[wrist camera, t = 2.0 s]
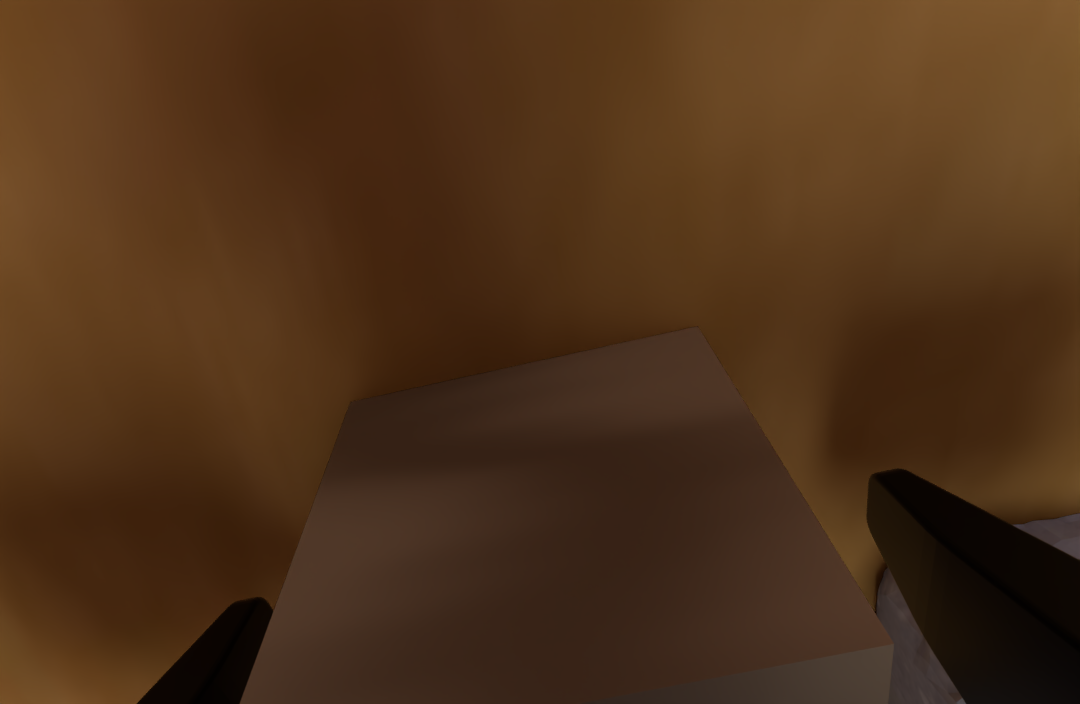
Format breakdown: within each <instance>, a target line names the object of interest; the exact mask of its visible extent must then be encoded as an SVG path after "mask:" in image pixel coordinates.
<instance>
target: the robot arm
mask: <svg viewBox="0 0 1080 704" xmlns="http://www.w3.org/2000/svg"><path fill="white" fill-rule="evenodd" d="M867 523H868V527H869V529H870V532H871V534H872V536H873V538H874V540H875V542H876V544H877V546H878V548H879V550H880V552H881V554H882V556H883V558H884V560H885V562H886V564H887V566H888V568H889V570H890V572H891V574H892V576H893V578H894V580H895V582H896V584H897V586H898V588H899V590H900V592H901V594H902V596H903V598H904V600H905V602H906V604H907V606H908V608H909V610H910V612H911V614H912V616H913V618H914V620H915V622H916V624H917V625H918V627H919V629H920V631H921V633H922V635H923V637H924V638H925V640H926V642H927V643H928V645H929V647H930V648H931V650H932V651H933V653H934V655H935V656H936V658H937V659H938V661H939V663H940V664H941V666H942V667H943V669H944V670H945V672H946V673H947V675H948V677H949V678H950V680H951V681H952V683H953V684H954V686H955V687H956V689H957V691H958V692H959V694H960V695H961V697H962V698H963V700H964V702H965V703H966V704H1080V560H1079V559H1077V558H1075V557H1073V556H1072V555H1070V554H1068V553H1066V552H1064V551H1062V550H1060V549H1058V548H1056V547H1054V546H1052V545H1050V544H1048V543H1046V542H1044V541H1043V540H1041V539H1039V538H1037V537H1035V536H1033V535H1031V534H1029V533H1027V532H1025V531H1023V530H1021V529H1019V528H1017V527H1015V526H1014V525H1012V524H1010V523H1008V522H1006V521H1004V520H1002V519H1000V518H998V517H996V516H994V515H992V514H990V513H988V512H987V511H985V510H983V509H981V508H979V507H977V506H975V505H973V504H971V503H969V502H967V501H965V500H963V499H961V498H959V497H958V496H956V495H954V494H952V493H950V492H948V491H946V490H944V489H942V488H940V487H938V486H936V485H934V484H932V483H930V482H929V481H927V480H925V479H923V478H921V477H919V476H917V475H915V474H913V473H911V472H909V471H907V470H904V469H892V470H887V471H882V472H877V473H874V474H872V475H871V476H870V478H869V483H868V499H867ZM272 614H273V609H272V608H271V606H270V605H269V603H268V602H267V601H266V600H265V599H263V598H262V597H255V598H250V599H245V600H240V601H237V602H234V603H233V604H231V605H230V606H229V607H228V608H227V609H226V610H225V611H224V612H223V613H222V614H221V615H220V616H219V617H218V618H217V619H216V620H215V622H214V623H213V624H212V625H211V626H210V627H209V628H208V629H207V630H206V631H205V632H204V633H203V634H202V635H201V636H200V637H199V638H198V639H197V641H196V642H195V643H194V644H193V645H192V646H191V647H190V648H189V649H188V650H187V651H186V652H185V653H184V654H183V655H182V656H181V657H180V658H179V659H178V661H177V662H176V663H175V664H174V665H173V666H172V667H171V668H170V669H169V670H168V671H167V672H166V673H165V674H164V675H163V676H162V677H161V678H160V680H159V681H158V682H157V683H156V684H155V685H154V686H153V687H152V688H151V689H150V690H149V691H148V692H147V693H146V694H145V695H144V696H143V697H142V698H141V700H140V701H139V702H138V703H137V704H240V701H241V699H242V696H243V693H244V690H245V688H246V685H247V682H248V680H249V677H250V674H251V671H252V669H253V666H254V663H255V660H256V658H257V655H258V652H259V650H260V647H261V644H262V641H263V639H264V636H265V633H266V631H267V628H268V625H269V622H270V620H271V617H272Z"/></svg>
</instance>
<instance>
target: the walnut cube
mask: <svg viewBox="0 0 1080 704" xmlns="http://www.w3.org/2000/svg"><path fill="white" fill-rule="evenodd" d="M893 650H894V643H893V641H892V640H891V638H890V636H889V635H888V633H887V632H886V630H885V628H884V627H883V625H882V623H881V622H880V620H879V619H878V617H877V615H876V614H875V612H874V611H873V609H872V607H871V606H870V604H869V602H868V601H867V599H866V598H865V596H864V594H863V593H862V591H861V589H860V588H859V586H858V585H857V583H856V581H855V580H854V578H853V577H852V575H851V573H850V572H849V570H848V568H847V567H846V565H845V564H844V562H843V560H842V559H841V557H840V556H839V554H838V552H837V551H836V549H835V547H834V546H833V544H832V543H831V541H830V539H829V538H828V536H827V534H826V533H825V531H824V530H823V528H822V526H821V525H820V523H819V522H818V520H817V518H816V517H815V515H814V513H813V512H812V510H811V509H810V507H809V505H808V504H807V502H806V501H805V499H804V497H803V496H802V494H801V492H800V491H799V489H798V488H797V486H796V484H795V483H794V481H793V480H792V478H791V476H790V475H789V473H788V471H787V470H786V468H785V467H784V465H783V463H782V462H781V460H780V458H779V457H778V455H777V454H776V452H775V450H774V449H773V447H772V446H771V444H770V442H769V441H768V439H767V437H766V436H765V434H764V433H763V431H762V429H761V428H760V426H759V425H758V423H757V421H756V420H755V418H754V416H753V415H752V413H751V412H750V410H749V408H748V407H747V405H746V403H745V402H744V400H743V399H742V397H741V395H740V394H739V392H738V391H737V389H736V387H735V386H734V384H733V382H732V381H731V379H730V378H729V376H728V374H727V373H726V371H725V370H724V368H723V366H722V365H721V363H720V361H719V360H718V358H717V357H716V355H715V353H714V352H713V350H712V348H711V347H710V345H709V344H708V342H707V340H706V339H705V337H704V336H703V334H702V332H701V331H700V329H699V327H698V326H697V327H692V328H687V329H683V330H678V331H674V332H669V333H665V334H660V335H655V336H651V337H646V338H642V339H637V340H633V341H628V342H623V343H619V344H614V345H610V346H605V347H601V348H596V349H591V350H587V351H582V352H578V353H573V354H568V355H564V356H559V357H555V358H550V359H546V360H541V361H536V362H532V363H527V364H523V365H518V366H514V367H509V368H504V369H500V370H495V371H491V372H486V373H481V374H477V375H472V376H468V377H463V378H459V379H454V380H449V381H445V382H440V383H436V384H431V385H427V386H422V387H417V388H413V389H408V390H404V391H399V392H394V393H390V394H385V395H381V396H376V397H372V398H367V399H362V400H358V401H353V402H350V404H349V407H348V410H347V412H346V415H345V418H344V421H343V423H342V426H341V429H340V432H339V434H338V437H337V440H336V442H335V445H334V448H333V451H332V453H331V456H330V459H329V462H328V464H327V467H326V470H325V472H324V475H323V478H322V481H321V483H320V486H319V489H318V492H317V494H316V497H315V500H314V502H313V505H312V508H311V511H310V513H309V516H308V519H307V521H306V524H305V527H304V530H303V532H302V535H301V538H300V541H299V543H298V546H297V549H296V551H295V554H294V557H293V560H292V562H291V565H290V568H289V571H288V573H287V576H286V579H285V581H284V584H283V587H282V590H281V592H280V595H279V598H278V601H277V603H276V606H275V609H274V611H273V614H272V617H271V620H270V622H269V625H268V628H267V631H266V633H265V636H264V639H263V641H262V644H261V647H260V650H259V652H258V655H257V658H256V660H255V663H254V666H253V669H252V671H251V674H250V677H249V680H248V682H247V685H246V688H245V690H244V693H243V696H242V699H241V701H240V704H888V700H889V690H890V680H891V670H892V660H893Z"/></svg>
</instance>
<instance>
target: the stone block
mask: <svg viewBox="0 0 1080 704" xmlns="http://www.w3.org/2000/svg"><path fill="white" fill-rule="evenodd" d="M1014 526H1015V527H1017V528H1019V529H1021V530H1023V531H1025V532H1027V533H1029V534H1031V535H1033V536H1035V537H1037V538H1039V539H1041V540H1043V541H1044V542H1046V543H1048V544H1050V545H1052V546H1054V547H1056V548H1058V549H1060V550H1062V551H1064V552H1066V553H1068V554H1070V555H1072V556H1073V557H1075V558H1077V559H1079V560H1080V513H1079V514H1074V515H1069V516H1064V517H1061V518H1057V519H1049V520H1037V521H1031V522H1028V523H1025V524H1016V525H1014ZM877 595H878V599H877V617H878V619H879V620H880V622H881V623H882V625H883V627H884V628H885V630H886V632H887V633H888V635H889V636H890V638H891V640H892V641H893V643H894V650H893V660H892V670H891V680H890V690H889V700H888V704H966V703H965V702H964V700H963V698H962V697H961V695H960V694H959V692H958V691H957V689H956V687H955V686H954V684H953V683H952V681H951V680H950V678H949V677H948V675H947V673H946V672H945V670H944V669H943V667H942V666H941V664H940V663H939V661H938V659H937V658H936V656H935V655H934V653H933V651H932V650H931V648H930V647H929V645H928V643H927V642H926V640H925V638H924V637H923V635H922V633H921V631H920V629H919V627H918V625H917V624H916V622H915V620H914V618H913V616H912V614H911V612H910V610H909V608H908V606H907V604H906V602H905V600H904V598H903V596H902V594H901V592H900V590H899V588H898V586H897V584H896V582H895V580H894V578H893V576H892V574H891V572H890V570H889V568H887V569H886V570H885V571H884V574H883V578H882V581H881V583H880V586H879V590H878V594H877Z"/></svg>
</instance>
